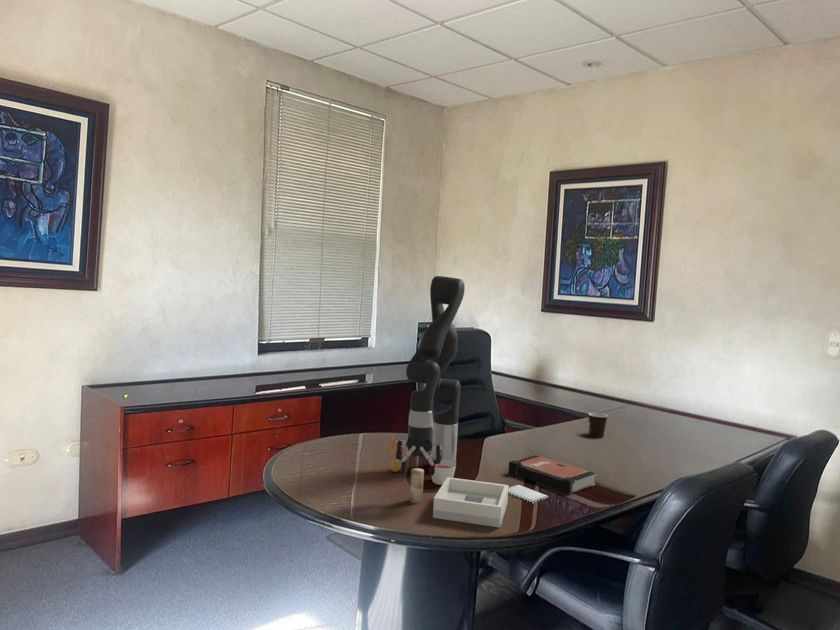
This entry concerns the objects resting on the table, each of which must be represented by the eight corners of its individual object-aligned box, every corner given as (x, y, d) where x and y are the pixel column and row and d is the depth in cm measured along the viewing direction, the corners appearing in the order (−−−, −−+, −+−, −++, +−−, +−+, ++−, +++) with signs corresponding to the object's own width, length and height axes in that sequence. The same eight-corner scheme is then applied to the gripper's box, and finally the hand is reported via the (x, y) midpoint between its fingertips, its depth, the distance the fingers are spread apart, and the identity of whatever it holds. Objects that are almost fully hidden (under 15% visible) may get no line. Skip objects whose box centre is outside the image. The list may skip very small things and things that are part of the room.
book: (596, 485, 224) (597, 471, 224) (569, 495, 212) (570, 481, 212) (536, 466, 243) (537, 453, 242) (508, 475, 231) (509, 461, 230)
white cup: (456, 479, 221) (457, 461, 221) (452, 487, 213) (453, 469, 212) (431, 476, 223) (432, 459, 223) (426, 484, 214) (427, 466, 214)
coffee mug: (602, 439, 287) (604, 418, 286) (584, 436, 291) (585, 414, 291) (610, 434, 296) (611, 413, 296) (592, 431, 301) (593, 410, 300)
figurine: (386, 474, 223) (388, 441, 222) (380, 469, 228) (381, 437, 227) (407, 472, 227) (409, 439, 226) (400, 467, 232) (402, 435, 231)
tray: (446, 495, 205) (447, 477, 205) (507, 503, 201) (508, 485, 200) (432, 517, 186) (433, 497, 186) (500, 527, 181) (501, 507, 181)
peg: (411, 498, 201) (413, 467, 200) (423, 499, 200) (425, 469, 199) (408, 502, 197) (409, 471, 196) (420, 504, 196) (422, 473, 195)
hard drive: (503, 489, 211) (532, 500, 202) (519, 484, 216) (548, 494, 207) (503, 493, 211) (532, 505, 202) (518, 489, 217) (548, 499, 207)
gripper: (445, 423, 199) (442, 473, 200) (401, 419, 202) (399, 468, 203) (440, 428, 191) (437, 481, 192) (395, 424, 195) (392, 475, 196)
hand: (417, 474), depth 198 cm, fingers open, 8 cm apart
